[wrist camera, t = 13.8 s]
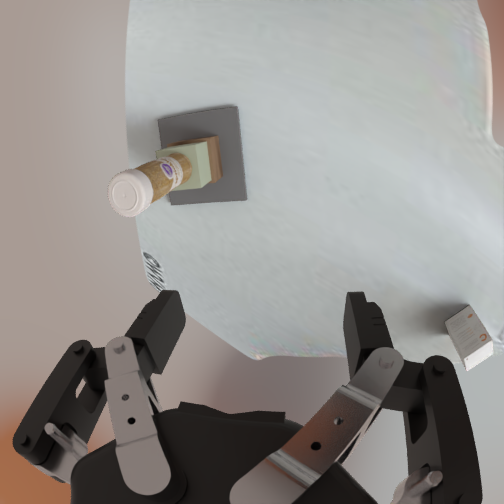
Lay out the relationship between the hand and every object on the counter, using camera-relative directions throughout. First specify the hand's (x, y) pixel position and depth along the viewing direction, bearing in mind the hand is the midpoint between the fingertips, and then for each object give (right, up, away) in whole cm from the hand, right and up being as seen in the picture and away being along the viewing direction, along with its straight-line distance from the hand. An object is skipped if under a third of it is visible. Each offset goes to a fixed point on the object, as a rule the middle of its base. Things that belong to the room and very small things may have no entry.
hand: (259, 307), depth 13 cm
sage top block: (-10, +16, +28) cm, 33 cm away
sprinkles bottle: (-10, +14, +23) cm, 29 cm away
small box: (+51, -14, +40) cm, 66 cm away
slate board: (-9, +19, +33) cm, 39 cm away
